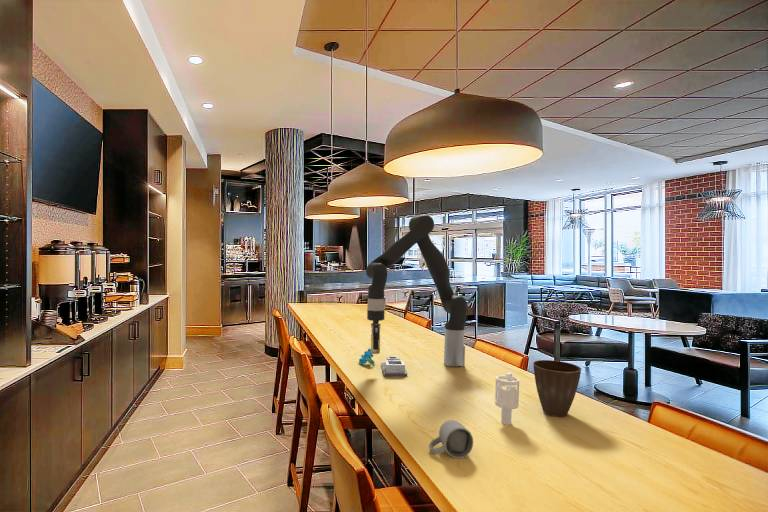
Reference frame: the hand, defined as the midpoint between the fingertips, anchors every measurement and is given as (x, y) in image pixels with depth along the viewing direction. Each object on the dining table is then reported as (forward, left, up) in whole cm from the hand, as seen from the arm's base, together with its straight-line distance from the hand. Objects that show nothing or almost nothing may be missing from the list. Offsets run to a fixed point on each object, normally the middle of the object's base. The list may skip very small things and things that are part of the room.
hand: (375, 348), depth 180 cm
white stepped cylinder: (-39, +53, -11) cm, 67 cm away
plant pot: (-59, +45, -11) cm, 75 cm away
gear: (+3, -16, -11) cm, 20 cm away
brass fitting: (0, 0, -2) cm, 2 cm away
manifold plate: (-9, -5, -11) cm, 15 cm away
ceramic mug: (-16, +72, -11) cm, 75 cm away
